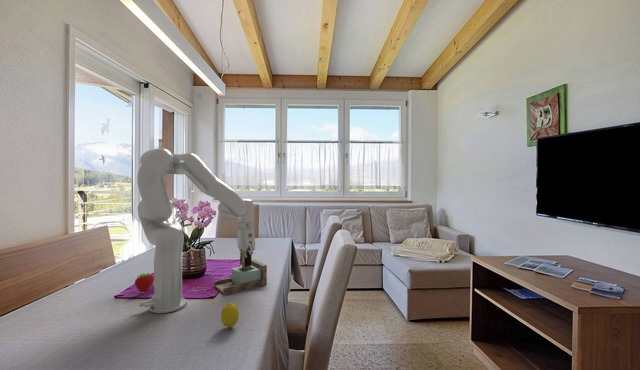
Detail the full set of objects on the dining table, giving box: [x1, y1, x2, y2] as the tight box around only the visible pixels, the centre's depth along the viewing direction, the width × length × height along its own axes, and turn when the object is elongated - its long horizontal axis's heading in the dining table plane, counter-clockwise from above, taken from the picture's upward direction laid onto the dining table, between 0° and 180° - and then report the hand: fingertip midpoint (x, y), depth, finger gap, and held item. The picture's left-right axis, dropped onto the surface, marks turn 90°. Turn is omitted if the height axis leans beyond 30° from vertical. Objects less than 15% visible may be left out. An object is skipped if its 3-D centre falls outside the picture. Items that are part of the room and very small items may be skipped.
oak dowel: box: [241, 249, 251, 271], centre depth 137 cm, size 4×4×10 cm
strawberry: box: [134, 272, 154, 293], centre depth 126 cm, size 6×8×10 cm
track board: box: [213, 259, 268, 296], centre depth 135 cm, size 20×13×9 cm, turn 128°
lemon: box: [220, 302, 240, 329], centre depth 95 cm, size 6×6×8 cm
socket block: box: [231, 265, 261, 285], centre depth 137 cm, size 10×10×6 cm
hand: (245, 264), depth 137 cm, fingers closed on oak dowel, 4 cm apart
